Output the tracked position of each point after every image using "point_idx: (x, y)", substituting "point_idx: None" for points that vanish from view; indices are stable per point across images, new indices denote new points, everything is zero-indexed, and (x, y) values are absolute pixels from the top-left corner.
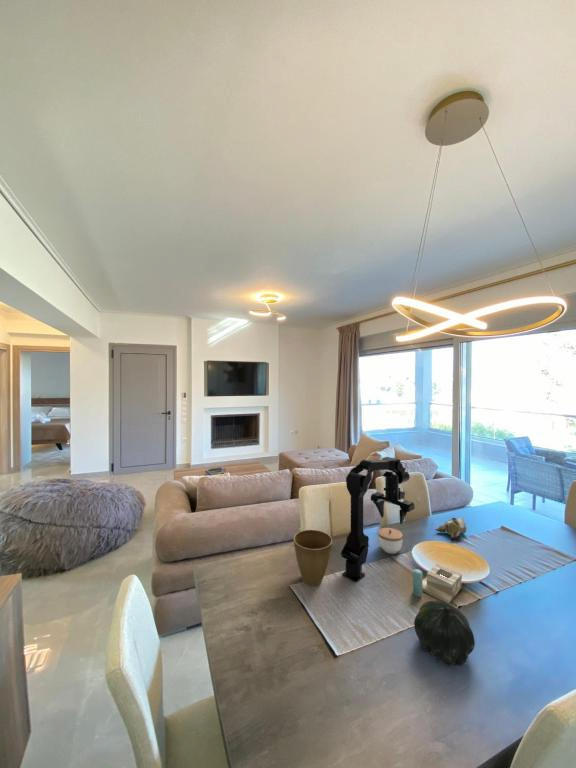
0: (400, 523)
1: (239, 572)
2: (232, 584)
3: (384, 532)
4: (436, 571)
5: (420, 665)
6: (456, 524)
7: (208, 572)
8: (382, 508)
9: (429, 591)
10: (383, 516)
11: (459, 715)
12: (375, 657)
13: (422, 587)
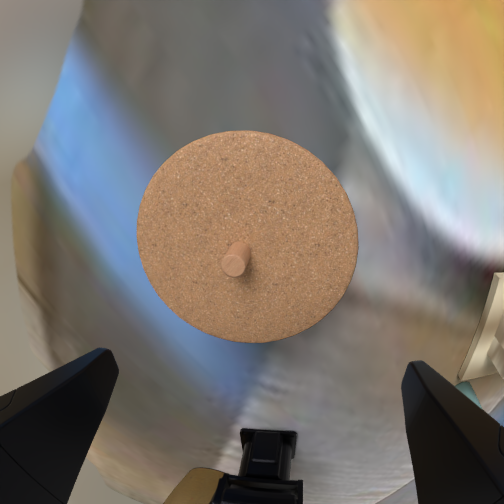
0: (404, 394)
1: (129, 484)
2: (154, 499)
3: (203, 286)
4: None
5: None
6: None
7: (114, 488)
8: (40, 438)
9: (491, 374)
10: (107, 352)
11: None
12: (402, 496)
13: (474, 376)
